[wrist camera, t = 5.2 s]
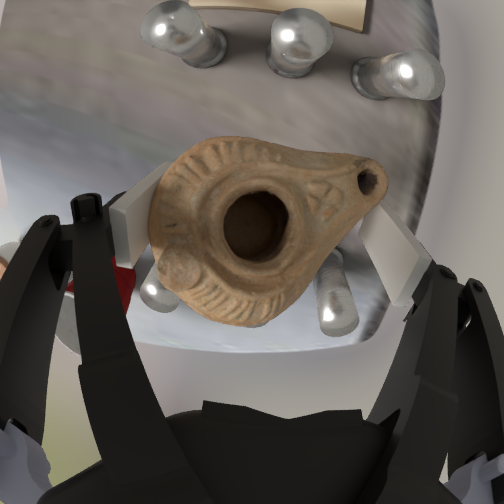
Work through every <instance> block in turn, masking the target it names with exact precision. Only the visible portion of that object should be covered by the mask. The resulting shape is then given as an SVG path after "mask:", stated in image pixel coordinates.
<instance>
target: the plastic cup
mask: <svg viewBox="0 0 504 504" xmlns="http://www.w3.org/2000/svg"><path fill="white" fill-rule="evenodd" d="M111 260H112V265H113V269H114V273H115V278H116V282H117V286H118V290H119V294H120V297H121V301H122V305H123V308H124V312H125V315H126V314H127V310H128V307H129V304H130V300H131V295H132V292H133V289H134V287H135V282H136V274H135V270H134V269H133V268H132V269H130V268H125V267H119V266H117V265H116V259H115V255H114V256H113V258H112V259H111ZM55 336H56V337H57V339H58V340H59V341H60V342H61V343H62V344H63V345H64V346H65V347H66V348H68V349H69V350H70V351H71V352H72V353H74V354H76V355H78V356H79V357H81V352H80V346H79V339H78V332H77V324H76V314H75V303H74V289H73V280H72V281H71V282H70V283H69V284H68V285H67V287H66V291H65V294H64V298H63V302H62V306H61V310H60V314H59V318H58V323H57V328H56V332H55Z"/></svg>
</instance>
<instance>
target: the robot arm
mask: <svg viewBox="0 0 504 504" xmlns="http://www.w3.org/2000/svg"><path fill="white" fill-rule="evenodd" d="M172 163H173V162H170V161H165V162H164V163H162V164H161V165H160V166H158V167H157V168H156V169H154V170H153V171H152V172H151V173H149V174H148V175H147V176H146V177H144V178H143V179H142V180H141V181H139V182H138V183H137V184H136V185H134V186H133V187H132V188H131V189H130V190H128V191H127V192H125V191H124V192H122V193H120V194H117V195H116V196H114V197H113V198H112V199H111V200H110V201H109V202H107V204H105V205H104V206H103V207H102V199H101V196H100V194H97V193H86V194H82V195H79V196H77V197H75V198H74V199H72V200H71V202H70V203H71V210H72V216H73V224H70V225H60V220H59V217H58V216H56V215H45V216H42V217H40V218H39V219H38V220H36V221H35V222H34V223H33V225H32V226H31V228H30V229H29V231H28V232H27V234H26V236H25V237H24V239H23V240H22V242H21V244H20V245H19V247H18V249H17V250H16V252H15V254H14V255H13V257H12V259H11V261H10V262H9V264H8V266H7V268H6V270H5V272H4V274H3V276H2V278H1V279H0V500H1V501H2V502H3V503H4V504H504V335H503V332H502V329H501V326H500V323H499V320H498V318H497V315H496V312H495V310H494V307H493V304H492V302H491V300H490V297H489V295H488V293H487V290H486V289H485V287H484V286H483V284H482V283H481V282H480V281H478V280H475V279H473V278H469V280H468V281H467V283H466V285H465V286H464V285H462V284H459V283H457V277H456V275H455V274H454V273H453V272H452V271H451V270H450V269H449V268H447V267H445V266H443V265H437V264H436V263H435V261H434V260H433V259H432V257H431V256H430V255H429V253H428V252H427V251H426V250H425V248H424V247H423V246H422V244H421V243H420V242H419V241H418V240H417V239H416V237H415V236H414V235H413V233H412V232H411V231H410V230H409V228H408V227H407V226H406V225H405V224H404V222H403V221H402V220H401V219H400V218H399V216H398V215H397V214H396V213H395V212H394V211H393V209H392V208H391V207H390V206H389V205H388V204H387V203H386V202H385V200H384V199H382V200H381V201H380V202H379V203H378V204H377V205H375V206H374V207H373V208H372V209H371V210H370V211H369V212H368V213H367V214H366V215H365V216H364V219H363V222H362V224H361V227H360V230H359V233H358V234H359V236H360V238H361V240H362V242H363V244H364V246H365V248H366V250H367V252H368V254H369V256H370V258H371V260H372V262H373V264H374V266H375V268H376V270H377V272H378V274H379V276H380V278H381V280H382V283H383V285H384V287H385V289H386V291H387V294H388V296H389V298H390V300H391V303H392V305H393V306H401V307H406V305H407V304H408V302H409V300H410V299H411V297H412V298H413V300H414V302H415V303H414V304H413V306H412V308H411V309H410V311H409V312H408V314H407V316H406V317H405V319H404V320H403V321H404V322H405V321H406V320H407V322H406V325H405V329H404V332H403V335H402V338H401V341H400V344H399V346H398V349H397V352H396V355H395V357H394V360H393V363H392V365H391V367H390V370H389V373H388V375H387V377H386V380H385V382H384V384H383V387H382V389H381V391H380V393H379V396H378V398H377V400H376V402H375V404H374V407H373V409H372V410H371V412H370V414H369V416H368V418H367V419H366V420H363V417H362V411H361V409H357V410H328V411H323V412H319V413H315V414H311V415H307V416H302V417H297V418H292V419H284V418H281V417H277V416H274V415H271V414H267V413H264V412H261V411H258V410H255V409H252V408H249V407H246V406H239V405H230V404H224V403H217V402H211V401H205V400H204V401H203V406H202V410H192V411H187V412H181V413H178V414H174V415H171V416H169V417H166V418H165V416H164V414H163V412H162V410H161V407H160V406H159V403H158V401H157V398H156V396H155V394H154V392H153V389H152V387H151V384H150V382H149V379H148V377H147V374H146V372H145V369H144V366H143V364H142V361H141V359H140V356H139V353H138V351H137V349H136V346H135V343H134V341H133V338H132V334H131V331H130V328H129V325H128V322H127V318H126V315H125V312H124V308H123V305H122V301H121V297H120V294H119V290H118V286H117V282H116V278H115V273H114V269H113V265H112V260H111V259H112V258H113V256H114V255H115V259H116V265H117V266H119V267H125V268H130V269H132V268H133V267H134V265H135V264H136V262H137V260H138V259H139V257H140V256H141V254H142V253H143V251H144V250H145V248H146V247H147V245H148V244H149V242H150V240H149V236H148V219H149V212H150V206H151V202H152V199H153V197H154V196H155V192H156V188H157V186H158V185H159V183H160V181H161V179H162V177H163V175H164V173H165V172H166V170H167V169H168V168H169V167H170V166H171V164H172ZM71 271H73V289H74V303H75V314H76V324H77V332H78V339H79V346H80V352H81V358H82V365H79V366H78V374H79V379H80V385H81V390H82V394H83V398H84V402H85V406H86V410H87V414H88V418H89V421H90V425H91V428H92V431H93V435H94V438H95V441H96V444H97V447H98V450H99V452H100V455H101V458H102V460H100V461H98V462H97V463H95V464H93V465H92V466H90V467H88V468H87V469H85V470H83V471H82V472H80V473H78V474H76V475H75V476H73V477H71V478H69V479H68V480H66V481H64V482H62V483H60V484H58V485H57V486H55V487H52V485H51V483H50V482H49V479H48V474H49V473H50V469H51V468H50V463H49V462H48V460H47V458H46V455H45V452H44V450H43V448H42V447H41V445H42V438H43V433H44V423H45V409H46V395H47V384H48V376H49V368H50V361H51V354H52V348H53V343H54V337H55V332H56V328H57V323H58V318H59V314H60V310H61V306H62V302H63V298H64V294H65V291H66V287H67V284H68V280H69V277H70V274H71ZM470 319H471V321H470V323H469V325H468V326H467V327H466V324H467V323H468V322H469V320H470ZM447 453H448V480H449V481H448V482H446V483H444V484H442V483H441V482H440V481H439V478H440V475H441V472H442V469H443V466H444V463H445V460H446V456H447ZM485 453H486V454H485Z"/></svg>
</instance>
